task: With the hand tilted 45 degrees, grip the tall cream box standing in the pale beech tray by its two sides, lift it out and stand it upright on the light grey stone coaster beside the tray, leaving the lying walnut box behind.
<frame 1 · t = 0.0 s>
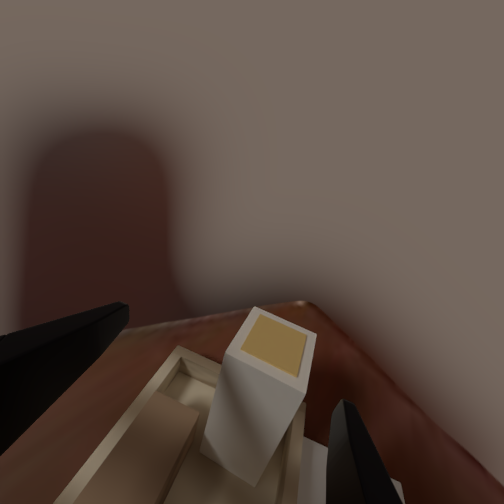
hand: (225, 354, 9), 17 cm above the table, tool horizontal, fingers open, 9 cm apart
cream box: (238, 436, 21), point 1 cm above the table, touching tray
walnut box: (145, 477, 17), point 1 cm above the table, touching tray
tray: (201, 469, 19), on the table
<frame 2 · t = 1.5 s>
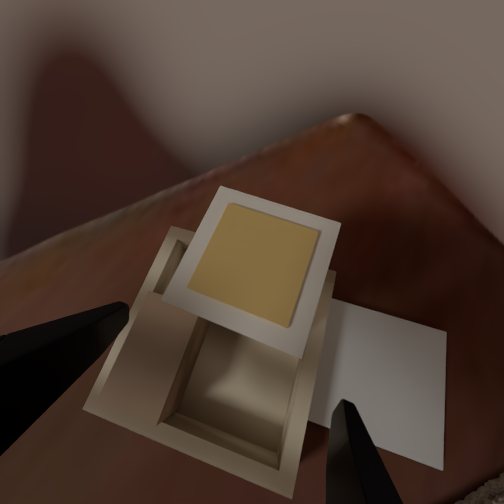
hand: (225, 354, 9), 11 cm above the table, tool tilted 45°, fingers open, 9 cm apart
cream box: (259, 307, 20), point 1 cm above the table, touching tray
walnut box: (173, 350, 19), point 1 cm above the table, touching tray
coaster: (376, 372, 18), on the table
tray: (225, 336, 19), on the table
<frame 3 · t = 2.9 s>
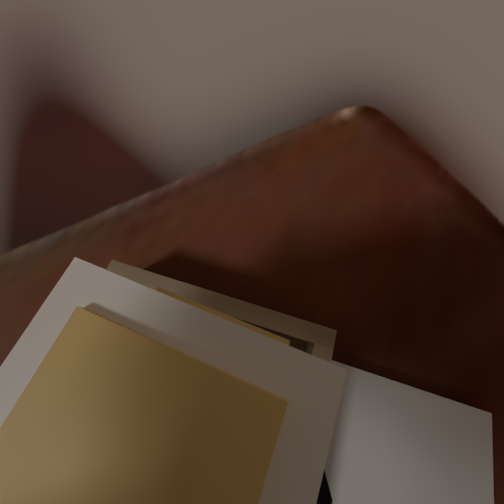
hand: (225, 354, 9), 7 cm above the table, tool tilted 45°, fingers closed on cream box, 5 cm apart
cream box: (230, 371, 14), point 1 cm above the table, touching gripper, tray
coaster: (392, 472, 13), on the table
tray: (184, 412, 14), on the table
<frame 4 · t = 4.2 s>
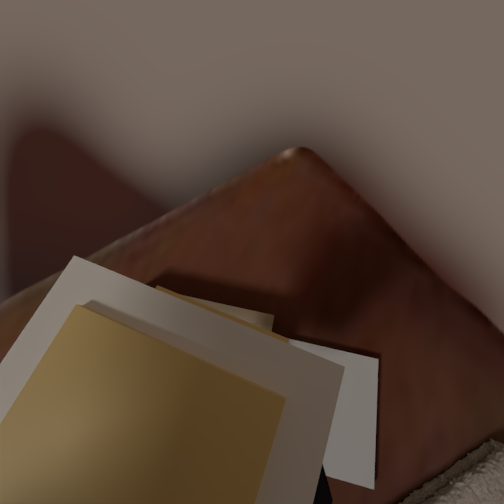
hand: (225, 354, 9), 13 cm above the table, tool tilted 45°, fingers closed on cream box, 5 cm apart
cream box: (230, 371, 14), point 7 cm above the table, touching gripper
coaster: (318, 402, 20), on the table
tray: (181, 380, 21), on the table
when the fingers open (8 cm above the table, at t = 6.0 s): cream box drops 1 cm, resting on coaster.
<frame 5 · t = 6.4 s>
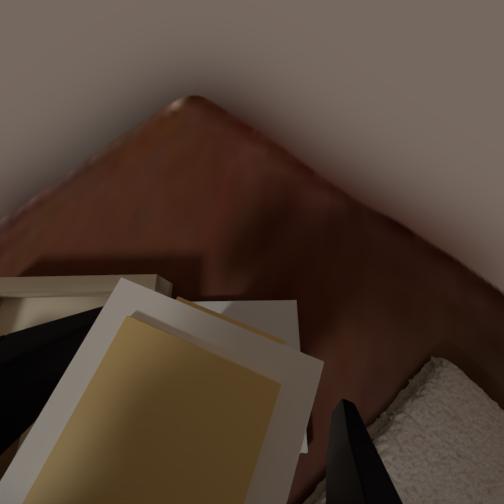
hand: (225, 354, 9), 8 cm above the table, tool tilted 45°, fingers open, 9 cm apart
cream box: (233, 369, 16), point 1 cm above the table, touching coaster
coaster: (234, 368, 16), on the table
tray: (63, 384, 16), on the table
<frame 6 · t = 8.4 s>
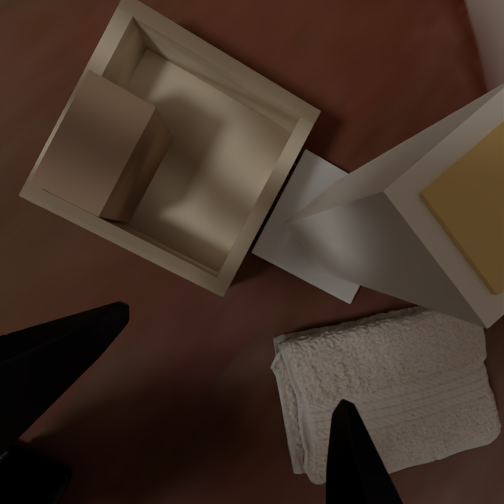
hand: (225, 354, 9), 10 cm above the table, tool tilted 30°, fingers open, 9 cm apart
cream box: (328, 228, 19), point 1 cm above the table, touching coaster
walnut box: (126, 166, 17), point 1 cm above the table, touching tray
coaster: (325, 228, 19), on the table
tray: (185, 166, 18), on the table
washcloth: (374, 374, 21), on the table
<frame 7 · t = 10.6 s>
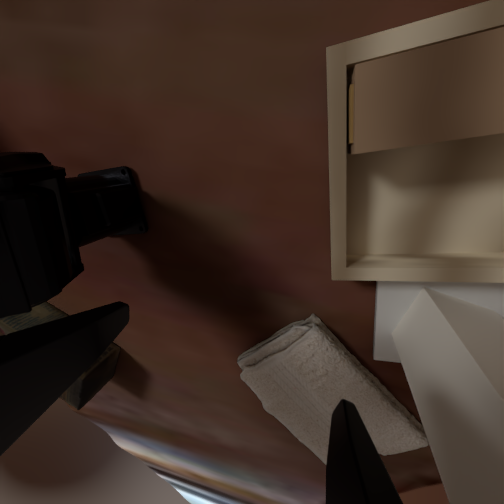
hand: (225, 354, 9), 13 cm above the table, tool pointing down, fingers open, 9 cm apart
beverage carton: (71, 328, 37), on the table
cream box: (439, 323, 19), point 1 cm above the table, touching coaster
walnut box: (410, 109, 14), point 1 cm above the table, touching tray
coaster: (436, 318, 19), on the table
tray: (442, 165, 15), on the table
washcloth: (325, 384, 26), on the table
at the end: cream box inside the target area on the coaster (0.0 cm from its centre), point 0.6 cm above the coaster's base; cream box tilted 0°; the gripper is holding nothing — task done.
